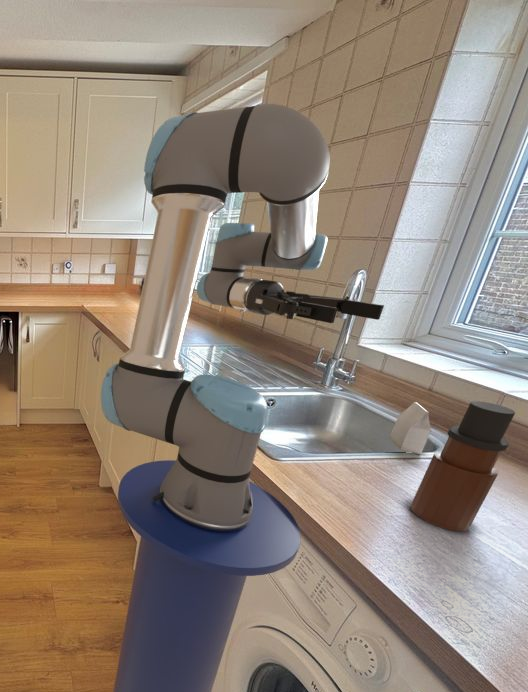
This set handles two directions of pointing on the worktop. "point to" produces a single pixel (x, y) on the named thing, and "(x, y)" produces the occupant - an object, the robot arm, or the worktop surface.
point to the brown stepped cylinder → (455, 485)
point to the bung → (484, 426)
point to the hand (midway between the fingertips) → (358, 314)
